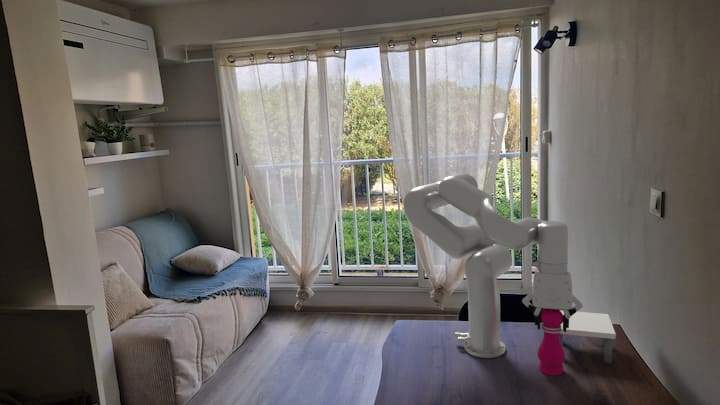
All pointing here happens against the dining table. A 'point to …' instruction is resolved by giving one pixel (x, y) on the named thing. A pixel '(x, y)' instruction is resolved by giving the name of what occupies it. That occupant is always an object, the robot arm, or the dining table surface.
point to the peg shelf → (592, 330)
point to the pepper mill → (551, 343)
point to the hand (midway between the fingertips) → (551, 328)
